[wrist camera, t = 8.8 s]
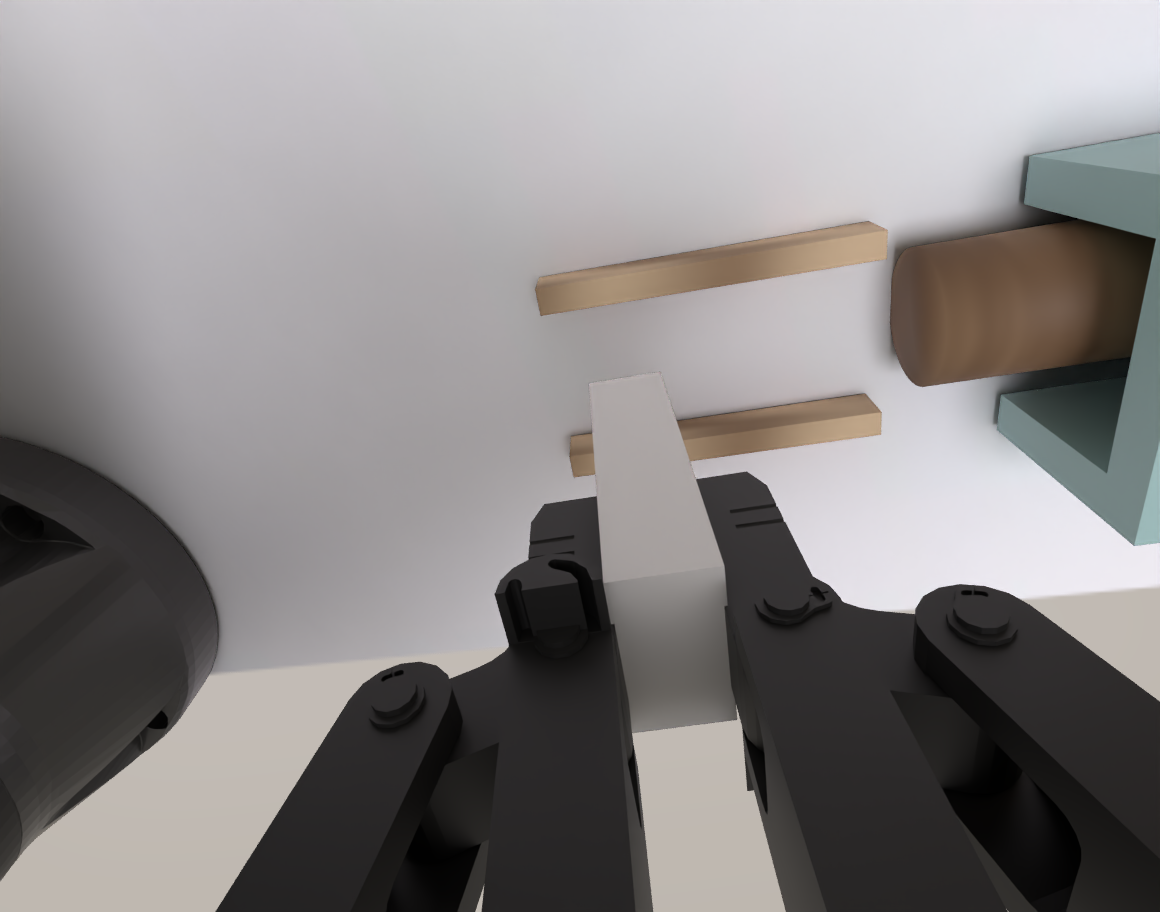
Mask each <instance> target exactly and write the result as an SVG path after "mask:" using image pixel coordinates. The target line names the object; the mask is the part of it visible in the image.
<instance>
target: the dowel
mask: <svg viewBox="0 0 1160 912" xmlns="http://www.w3.org/2000/svg"><path fill="white" fill-rule="evenodd" d="M1155 241H1156V239H1155V238H1152V237H1148V236H1144V235H1140V234H1136V233H1132V232H1129V231H1125V230H1121V229H1117V228H1113V227H1109V226H1105V225H1102V224H1098V223H1094V222H1090V221H1086V220H1082V219H1078V220H1072V221H1066V222H1060V223H1054V224H1048V225H1042V226H1036V227H1030V228H1024V229H1018V230H1012V231H1006V232H1000V233H994V234H988V235H982V236H975V237H969V238H963V239H957V240H951V241H945V242H939V243H933V244H927V245H921V246H915V247H910V248H908V249H906V250H905V251H904V252H903V253H902V254H901V255H900V257H899V259H898V261H897V263H896V265H895V268H894V272H893V276H892V286H891V313H890V325H891V333H892V338H893V343H894V347H895V351H896V354H897V357H898V360H899V362H900V365H901V367H902V369H903V371H904V372H905V374H906V375H907V377H908V378H909V379H910V380H911V382H913V383H914V384H915V385H917V386H920V387H925V386H932V385H939V384H946V383H953V382H960V381H967V380H974V379H981V378H988V377H994V376H1001V375H1008V374H1015V373H1022V372H1029V371H1036V370H1043V369H1050V368H1057V367H1064V366H1070V365H1077V364H1084V363H1091V362H1098V361H1105V360H1112V359H1119V358H1126V357H1131V356H1132V351H1133V346H1134V342H1135V337H1136V332H1137V327H1138V322H1139V318H1140V313H1141V308H1142V303H1143V299H1144V294H1145V289H1146V284H1147V279H1148V275H1149V270H1150V265H1151V260H1152V256H1153V251H1154V246H1155Z"/></svg>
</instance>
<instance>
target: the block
mask: <svg viewBox="0 0 1160 912" xmlns="http://www.w3.org/2000/svg"><path fill="white" fill-rule="evenodd" d="M1024 204H1025V205H1029V206H1032V207H1036V208H1040V209H1044V210H1048V211H1052V212H1055V213H1059V214H1063V215H1067V216H1071V217H1075V218H1079V219H1082V220H1086V221H1090V222H1094V223H1098V224H1102V225H1105V226H1109V227H1113V228H1117V229H1121V230H1125V231H1129V232H1132V233H1136V234H1140V235H1144V236H1148V237H1152V238H1155V239H1156V241H1155V246H1154V251H1153V256H1152V260H1151V265H1150V270H1149V275H1148V279H1147V284H1146V289H1145V294H1144V299H1143V303H1142V308H1141V313H1140V318H1139V322H1138V327H1137V332H1136V337H1135V342H1134V346H1133V351H1132V356H1131V361H1130V366H1129V370H1128V375H1127V377H1121V378H1114V379H1107V380H1100V381H1093V382H1086V383H1079V384H1072V385H1065V386H1058V387H1051V388H1044V389H1037V390H1030V391H1023V392H1016V393H1009V394H1002V395H1001V399H1000V408H999V416H998V424H997V430H998V431H999V432H1000V433H1001V434H1002V435H1004V436H1005V437H1006V438H1007V439H1008V440H1009V441H1011V442H1012V443H1013V444H1014V445H1015V446H1017V447H1018V448H1019V449H1020V450H1021V451H1022V452H1024V453H1025V454H1026V455H1027V456H1028V457H1030V458H1031V459H1032V460H1033V461H1034V462H1035V463H1037V464H1038V465H1039V466H1040V467H1041V468H1043V469H1044V470H1045V471H1046V472H1047V473H1049V474H1050V475H1051V476H1052V477H1053V478H1054V479H1056V480H1057V481H1058V482H1059V483H1060V484H1062V485H1063V486H1064V487H1065V488H1066V489H1067V490H1069V491H1070V492H1071V493H1072V494H1073V495H1075V496H1076V497H1077V498H1078V499H1079V500H1080V501H1082V502H1083V503H1084V504H1085V505H1086V506H1088V507H1089V508H1090V509H1091V510H1092V511H1093V512H1095V513H1096V514H1097V515H1098V516H1099V517H1101V518H1102V519H1103V520H1104V521H1105V522H1106V523H1108V524H1109V525H1110V526H1111V527H1112V528H1114V529H1115V530H1116V531H1117V532H1118V533H1119V534H1121V535H1122V536H1123V537H1124V538H1125V539H1127V540H1128V541H1129V542H1130V543H1131V544H1133V545H1134V546H1137V545H1146V544H1154V543H1160V133H1157V134H1151V135H1146V136H1140V137H1134V138H1128V139H1123V140H1117V141H1111V142H1106V143H1100V144H1094V145H1089V146H1083V147H1077V148H1072V149H1066V150H1060V151H1054V152H1049V153H1043V154H1037V155H1032V156H1030V157H1029V166H1028V174H1027V182H1026V191H1025V199H1024Z"/></svg>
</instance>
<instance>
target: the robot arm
mask: <svg viewBox="0 0 1160 912" xmlns="http://www.w3.org/2000/svg"><path fill="white" fill-rule="evenodd" d="M589 392H590V406H591V420H592V434H593V448H594V462H595V476H596V490H597V496H596V497H589V498H583V499H576V500H569V501H563V502H556V503H550V504H544V505H543V507H542V508H541V510H540V511H539V512H538V514H537V515H536V517H535V518H534V519H533V521H532V522H531V532H530V545H529V555H528V558H529V560H527V561H526V562H524V563H522V564H520V565H518V566H516V567H514V568H513V569H512V570H511V571H510V572H509V573H508V574H507V575H506V576H505V577H504V578H503V579H502V580H500V583H499V585H498V587H497V590H496V592H495V597H496V601H497V604H498V608H499V611H500V615H501V618H502V622H503V625H504V629H505V632H506V636H507V639H508V643H509V647H508V648H507V650H506V651H505V652H504V653H502V654H501V655H499V656H498V657H497V658H495V659H494V660H492V661H491V662H489V663H487V664H484V665H482V666H480V667H478V668H476V669H474V670H471V671H469V672H466V673H463V674H461V675H458V676H456V677H453V678H451V679H449V677H448V675H447V674H446V673H444V672H443V671H442V670H441V669H440V668H439V667H438V666H436V665H432V664H427V663H423V662H415V663H404V664H399V665H397V666H394V667H391V668H389V669H386V670H384V671H381V672H380V673H378V674H377V675H375V676H374V677H372V678H371V679H370V680H368V681H367V682H365V683H364V684H362V686H361V687H360V688H359V689H358V690H357V691H356V693H355V694H354V695H353V696H352V697H351V698H350V700H349V701H348V703H347V704H346V706H345V707H344V709H343V711H342V712H341V714H340V715H339V717H338V718H337V720H336V722H335V723H334V725H333V726H332V728H331V730H330V731H329V733H328V734H327V736H326V737H325V739H324V741H323V742H322V744H321V746H320V747H319V748H318V750H317V752H316V753H315V755H314V756H313V758H312V760H311V761H310V763H309V764H308V766H307V768H306V769H305V771H304V772H303V774H302V776H301V777H300V779H299V780H298V782H297V784H296V785H295V787H294V788H293V790H292V791H291V793H290V794H289V796H288V798H287V799H286V801H285V802H284V804H283V806H282V807H281V809H280V810H279V812H278V814H277V815H276V817H275V818H274V820H273V821H272V823H271V825H270V826H269V828H268V829H267V831H266V832H265V834H264V836H263V837H262V839H261V841H260V842H259V844H258V845H257V847H256V848H255V850H254V852H253V853H252V855H251V856H250V858H249V859H248V861H247V863H246V864H245V866H244V867H243V869H242V870H241V872H240V874H239V875H238V877H237V879H236V880H235V882H234V883H233V885H232V886H231V888H230V890H229V891H228V893H227V894H226V896H225V898H224V899H223V901H222V902H221V904H220V905H219V907H218V909H217V910H216V912H475V910H476V908H477V904H478V901H479V898H480V895H481V892H482V889H483V886H484V894H483V904H482V912H653V906H652V896H651V887H650V877H649V869H648V859H647V849H646V840H645V831H644V821H643V812H642V803H641V793H640V784H639V774H638V766H637V761H636V756H635V750H634V745H633V738H632V733H637V732H645V731H653V730H661V729H668V728H676V727H684V726H691V725H700V724H708V723H715V722H723V721H731V720H737V712H736V705H737V709H738V712H739V716H740V720H741V723H742V728H743V741H744V754H745V766H746V779H747V791H751V790H754V792H755V796H756V799H757V803H758V807H759V811H760V815H761V818H762V822H763V826H764V830H765V833H766V837H767V841H768V845H769V849H770V853H771V856H772V860H773V864H774V868H775V872H776V875H777V879H778V883H779V887H780V890H781V894H782V898H783V902H784V905H785V910H786V912H1008V911H1009V912H1160V702H1159V701H1158V700H1157V699H1156V698H1154V697H1153V696H1151V695H1150V694H1149V693H1147V692H1146V691H1145V690H1143V689H1142V688H1141V687H1139V686H1138V685H1137V684H1135V683H1134V682H1133V681H1131V680H1130V679H1129V678H1127V677H1126V676H1125V675H1123V674H1122V673H1121V672H1119V671H1118V670H1116V669H1115V668H1114V667H1113V666H1111V665H1110V664H1109V663H1107V662H1106V661H1105V660H1103V659H1102V658H1100V657H1099V656H1098V655H1096V654H1095V653H1094V652H1092V651H1091V650H1090V649H1088V648H1087V647H1086V646H1084V645H1083V644H1082V643H1080V642H1079V641H1077V640H1076V639H1075V638H1074V637H1072V636H1071V635H1070V634H1068V633H1067V632H1066V631H1064V630H1063V629H1062V628H1060V627H1059V626H1058V625H1056V624H1055V623H1053V622H1052V621H1051V620H1049V619H1048V618H1047V617H1045V616H1044V615H1043V614H1041V613H1040V612H1039V611H1037V610H1036V609H1034V608H1033V607H1032V606H1030V605H1029V604H1027V603H1025V602H1024V601H1022V600H1020V599H1018V598H1016V597H1015V596H1013V595H1011V594H1009V593H1006V592H1003V591H999V590H996V589H993V588H989V587H986V586H976V585H963V584H959V585H953V586H947V587H941V588H938V589H936V590H934V591H932V592H930V593H928V594H927V595H925V596H923V598H922V599H921V601H920V602H919V604H918V606H917V607H916V610H915V614H906V613H895V612H884V611H876V610H870V609H864V608H859V607H856V606H853V605H850V604H847V603H844V602H842V600H841V598H840V597H839V596H838V595H837V594H836V592H835V591H834V590H833V589H832V588H831V587H830V586H829V585H827V584H826V583H824V582H822V581H820V580H818V579H816V578H814V577H813V576H812V574H811V572H810V570H809V568H808V566H807V564H806V562H805V560H804V558H803V556H802V554H801V552H800V550H799V548H798V546H797V544H796V542H795V540H794V538H793V536H792V535H791V533H790V531H789V529H788V527H787V525H786V523H785V522H784V520H783V517H782V515H781V513H780V511H779V509H778V507H776V503H775V501H774V499H773V497H772V495H771V493H770V491H769V489H768V487H767V485H765V484H764V483H763V482H761V481H760V480H758V479H757V478H755V477H754V476H752V475H751V474H749V473H748V472H741V473H735V474H728V475H722V476H715V477H708V478H702V479H696V478H695V475H694V472H693V469H692V466H691V463H690V460H689V457H688V454H687V451H686V448H685V445H684V442H683V439H682V436H681V433H680V430H679V427H678V424H677V421H676V418H675V415H674V411H673V408H672V405H671V402H670V399H669V396H668V393H667V390H666V387H665V384H664V381H663V378H662V375H661V372H654V373H648V374H642V375H636V376H629V377H623V378H617V379H611V380H605V381H598V382H592V383H589ZM217 644H218V628H217V620H216V615H215V610H214V606H213V603H212V600H211V597H210V594H209V592H208V589H207V587H206V585H205V583H204V581H203V579H202V577H201V575H200V573H199V571H198V570H197V568H196V566H195V564H194V563H193V562H192V560H191V559H190V557H189V556H188V554H187V553H186V551H185V550H184V549H183V548H182V546H181V545H180V544H179V542H178V541H177V540H176V539H175V538H174V537H173V535H172V534H171V533H170V532H169V531H168V530H167V529H166V528H165V527H164V526H163V525H162V524H161V523H160V522H159V521H158V520H157V519H156V518H155V517H154V516H153V515H152V514H151V513H150V512H148V511H147V510H146V509H145V508H144V507H143V506H141V505H140V504H139V503H138V502H136V501H135V500H134V499H133V498H131V497H130V496H129V495H127V494H126V493H125V492H123V491H122V490H120V489H119V488H117V487H116V486H114V485H113V484H111V483H110V482H108V481H107V480H105V479H104V478H102V477H100V476H98V475H97V474H95V473H93V472H91V471H90V470H88V469H86V468H84V467H82V466H80V465H78V464H76V463H74V462H72V461H70V460H68V459H65V458H63V457H61V456H59V455H56V454H54V453H51V452H49V451H46V450H44V449H41V448H38V447H35V446H32V445H29V444H26V443H23V442H19V441H15V440H12V439H8V438H3V437H0V880H2V878H3V877H4V876H5V874H6V873H7V872H8V870H9V869H10V868H11V866H12V865H13V864H14V863H15V861H16V860H17V859H18V858H19V856H20V855H21V854H22V853H23V851H24V850H25V849H26V848H27V847H28V846H29V845H30V844H31V843H32V842H33V841H34V840H35V839H36V838H37V837H38V836H39V835H41V834H42V833H43V832H44V831H46V830H47V829H48V828H49V827H51V826H52V825H53V824H55V823H56V822H57V821H58V820H60V819H61V818H62V817H63V816H65V815H66V814H67V813H68V812H70V811H71V810H72V809H74V808H75V807H76V806H77V805H79V804H80V803H81V802H82V801H84V800H85V799H86V798H87V797H89V796H90V795H91V794H92V793H94V792H95V791H96V790H98V789H99V788H100V787H101V786H103V785H104V784H105V783H106V782H108V781H109V780H110V779H111V778H113V777H114V776H115V775H116V774H118V773H119V772H120V771H121V770H123V769H124V768H125V767H126V766H128V765H129V764H130V763H132V762H133V761H134V760H135V759H136V758H137V757H139V756H140V755H141V754H142V753H144V752H145V751H147V750H148V749H149V748H151V747H152V746H153V745H154V744H155V743H156V742H158V741H159V740H160V739H161V738H163V737H164V736H165V734H167V733H168V731H170V730H171V728H172V727H173V726H174V725H175V724H176V723H177V722H178V720H179V719H180V718H181V716H182V715H183V713H184V712H185V710H186V709H187V707H188V706H189V705H190V703H191V702H192V700H193V699H194V697H195V696H196V694H197V693H198V691H199V689H200V688H201V687H202V685H203V684H204V682H205V680H206V679H207V677H208V675H209V673H210V671H211V669H212V666H213V663H214V660H215V656H216V652H217ZM484 883H485V884H484ZM1005 907H1006V908H1005ZM1006 909H1007V910H1008V911H1007V910H1006Z"/></svg>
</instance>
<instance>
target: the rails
mask: <svg viewBox="0 0 1160 912" xmlns="http://www.w3.org/2000/svg"><path fill="white" fill-rule="evenodd" d="M887 234H888V230H886V229H884V228H882V227H880V226H878V225H876V224H874V223H872V222H869V221H867V222H861V223H855V224H850V225H844V226H838V227H832V228H826V229H820V230H814V231H809V232H803V233H797V234H791V235H785V236H779V237H773V238H767V239H762V240H756V241H750V242H744V243H738V244H732V245H726V246H720V247H715V248H709V249H703V250H697V251H691V252H685V253H679V254H673V255H668V256H662V257H656V258H650V259H644V260H638V261H632V262H626V263H621V264H615V265H609V266H603V267H597V268H591V269H585V270H579V271H574V272H568V273H562V274H556V275H550V276H544V277H539V280H538V283H537V286H536V289H535V291H536V295H537V300H538V305H539V310H540V315H541V316H543V315H549V314H555V313H562V312H568V311H574V310H580V309H586V308H592V307H598V306H604V305H610V304H616V303H622V302H628V301H635V300H641V299H647V298H653V297H659V296H665V295H671V294H677V293H683V292H689V291H695V290H701V289H708V288H714V287H720V286H726V285H732V284H738V283H744V282H750V281H756V280H762V279H768V278H774V277H781V276H787V275H793V274H799V273H805V272H811V271H817V270H823V269H829V268H835V267H841V266H847V265H854V264H860V263H866V262H872V261H878V260H884V259H887ZM881 415H882V412H881V411H880V410H879V409H878V407H877V406H876V405H875V404H874V403H873V402H872V401H871V400H870V398H869V397H868V396H867V395H866V394H859V395H853V396H846V397H839V398H832V399H825V400H818V401H811V402H804V403H798V404H791V405H784V406H777V407H770V408H763V409H756V410H749V411H743V412H736V413H729V414H722V415H715V416H708V417H701V418H694V419H688V420H681V421H677V424H678V427H679V430H680V433H681V436H682V439H683V442H684V445H685V448H686V451H687V454H688V457H689V460H690V461H695V460H702V459H709V458H716V457H724V456H731V455H738V454H745V453H752V452H759V451H767V450H774V449H781V448H788V447H795V446H803V445H810V444H817V443H824V442H831V441H839V440H846V439H853V438H860V437H867V436H874V435H881ZM569 457H570V462H571V467H572V471H573V476H574V477H580V476H587V475H594V474H595V462H594V448H593V434H592V433H591V434H584V435H577V436H571V444H570V456H569Z"/></svg>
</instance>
